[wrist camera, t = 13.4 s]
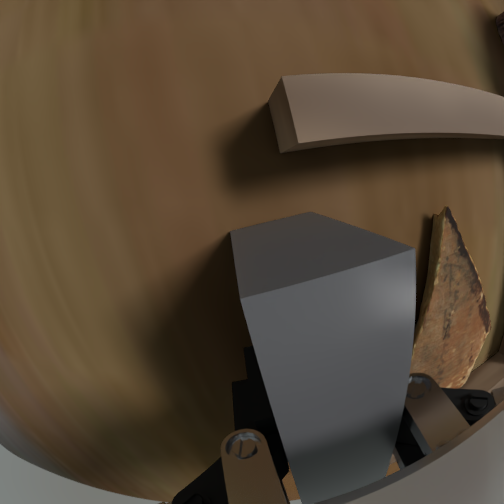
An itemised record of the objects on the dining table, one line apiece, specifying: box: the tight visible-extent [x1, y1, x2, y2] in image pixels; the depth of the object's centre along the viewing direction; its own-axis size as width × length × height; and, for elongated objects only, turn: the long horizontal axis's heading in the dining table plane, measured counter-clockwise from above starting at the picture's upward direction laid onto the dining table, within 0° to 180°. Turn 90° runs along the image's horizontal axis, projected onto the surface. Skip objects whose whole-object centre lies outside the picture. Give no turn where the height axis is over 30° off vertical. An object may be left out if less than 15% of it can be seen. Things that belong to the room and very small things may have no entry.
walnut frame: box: [268, 73, 504, 465], centre depth 10 cm, size 20×18×2 cm
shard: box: [410, 205, 491, 389], centre depth 12 cm, size 11×8×2 cm
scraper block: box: [230, 212, 416, 504], centre depth 8 cm, size 12×3×6 cm, turn 13°
